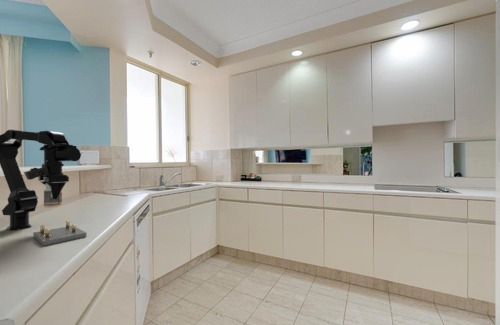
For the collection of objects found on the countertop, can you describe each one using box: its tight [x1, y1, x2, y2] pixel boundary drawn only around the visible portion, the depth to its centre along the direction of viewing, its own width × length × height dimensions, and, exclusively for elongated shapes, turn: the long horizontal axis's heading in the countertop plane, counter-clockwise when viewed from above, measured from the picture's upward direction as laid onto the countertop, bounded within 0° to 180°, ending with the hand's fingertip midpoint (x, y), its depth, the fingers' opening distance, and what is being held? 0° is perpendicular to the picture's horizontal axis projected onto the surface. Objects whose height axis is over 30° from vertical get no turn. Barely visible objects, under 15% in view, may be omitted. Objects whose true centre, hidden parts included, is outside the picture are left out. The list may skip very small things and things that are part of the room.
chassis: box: [32, 220, 87, 247], centre depth 83 cm, size 16×12×4 cm
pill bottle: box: [43, 184, 63, 209], centre depth 93 cm, size 6×6×10 cm
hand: (52, 198), depth 93 cm, fingers closed on pill bottle, 6 cm apart
